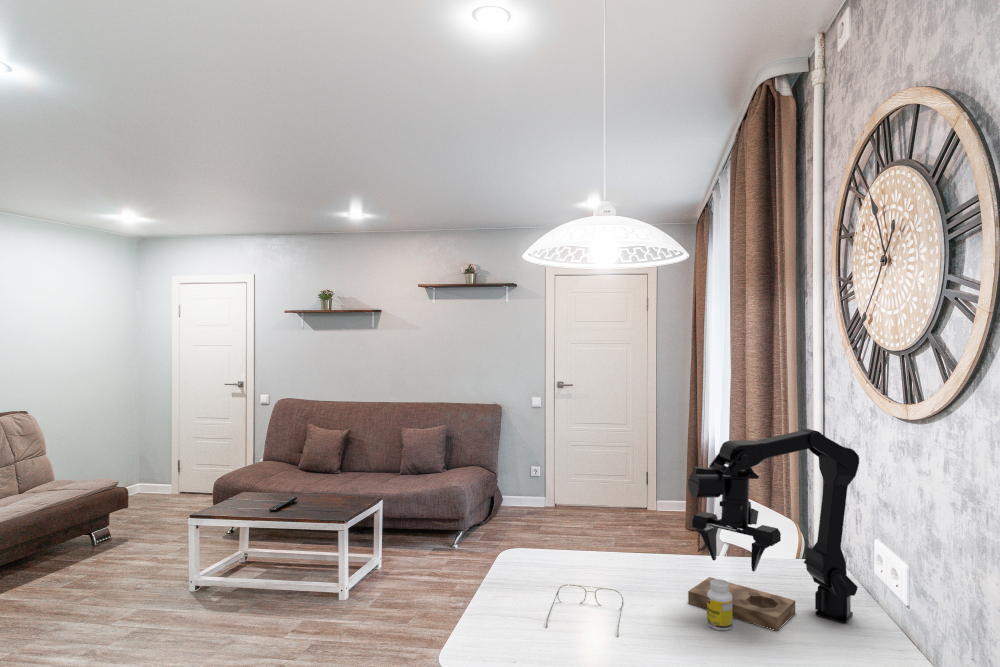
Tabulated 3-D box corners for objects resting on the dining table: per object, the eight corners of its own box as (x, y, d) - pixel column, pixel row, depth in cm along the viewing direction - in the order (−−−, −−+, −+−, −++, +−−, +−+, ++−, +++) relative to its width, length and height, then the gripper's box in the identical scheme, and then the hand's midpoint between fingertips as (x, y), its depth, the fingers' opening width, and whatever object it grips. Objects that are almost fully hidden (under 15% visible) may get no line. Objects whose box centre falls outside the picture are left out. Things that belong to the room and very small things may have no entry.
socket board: (795, 613, 146) (795, 600, 146) (777, 631, 137) (777, 617, 137) (709, 588, 160) (709, 576, 160) (688, 603, 152) (688, 591, 152)
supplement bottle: (702, 622, 142) (702, 579, 142) (722, 618, 143) (722, 576, 144) (717, 632, 137) (717, 588, 137) (737, 629, 138) (737, 585, 138)
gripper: (790, 499, 142) (788, 567, 142) (711, 484, 155) (710, 547, 155) (772, 508, 134) (770, 580, 134) (690, 491, 147) (689, 557, 146)
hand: (733, 565), depth 142 cm, fingers open, 9 cm apart
